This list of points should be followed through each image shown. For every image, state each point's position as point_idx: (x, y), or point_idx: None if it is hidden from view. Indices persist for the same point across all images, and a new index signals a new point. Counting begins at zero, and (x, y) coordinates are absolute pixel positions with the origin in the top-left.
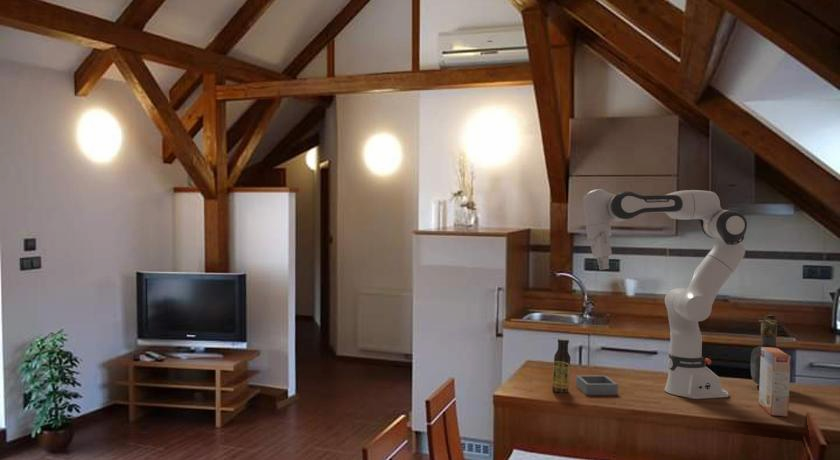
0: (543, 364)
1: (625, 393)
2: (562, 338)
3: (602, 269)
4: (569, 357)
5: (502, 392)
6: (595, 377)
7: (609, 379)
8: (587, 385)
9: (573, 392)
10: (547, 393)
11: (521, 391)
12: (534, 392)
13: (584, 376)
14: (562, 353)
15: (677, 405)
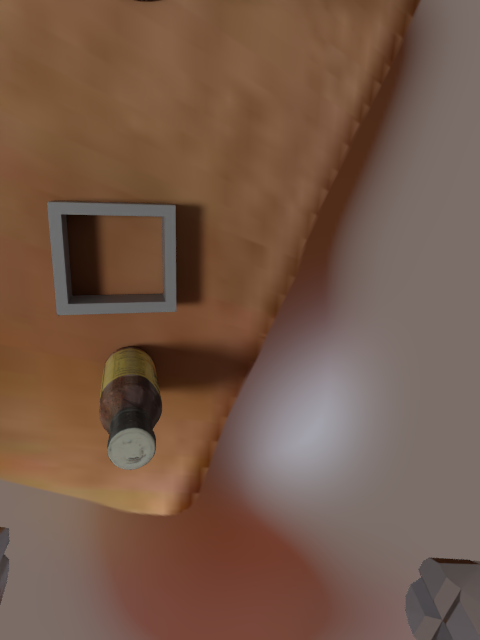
0: None
1: (151, 168)
2: (117, 451)
3: (2, 551)
4: (147, 392)
5: (147, 512)
6: (63, 247)
7: (108, 211)
8: (175, 307)
9: (143, 332)
10: None
11: None
12: None
13: (66, 289)
14: (153, 425)
15: (287, 52)
